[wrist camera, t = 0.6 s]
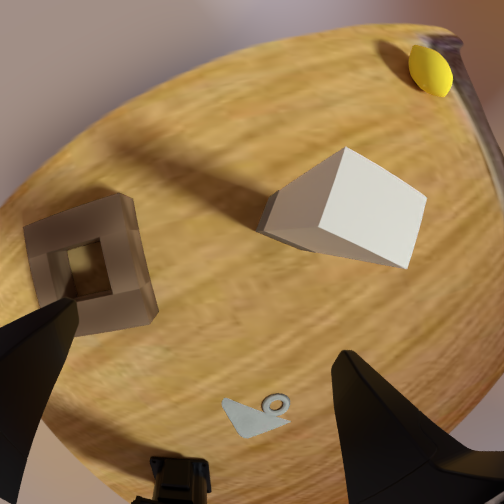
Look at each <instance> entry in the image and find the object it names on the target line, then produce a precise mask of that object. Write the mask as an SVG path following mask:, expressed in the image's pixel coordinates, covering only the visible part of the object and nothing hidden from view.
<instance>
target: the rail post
mask: <svg viewBox="0 0 504 504" xmlns="http://www.w3.org/2000/svg"><path fill="white" fill-rule="evenodd" d="M426 199H427V197H426V196H424V195H423V194H421V193H420V192H418V191H417V190H416V189H414V188H413V187H411V186H410V185H408V184H407V183H405V182H404V181H402V180H401V179H399V178H398V177H396V176H395V175H393V174H391V173H390V172H388V171H387V170H385V169H383V168H382V167H380V166H379V165H377V164H375V163H374V162H372V161H370V160H368V159H367V158H365V157H363V156H362V155H360V154H358V153H356V152H354V151H353V150H351V149H349V148H347V147H344V148H343V149H341V150H340V151H338V152H336V153H335V154H333V155H332V156H330V157H329V158H327V159H326V160H324V161H323V162H321V163H320V164H318V165H316V166H315V167H313V168H312V169H310V170H309V171H307V172H306V173H304V174H303V175H301V176H300V177H298V178H297V179H295V180H294V181H292V182H291V183H289V184H288V185H286V186H285V187H283V188H282V189H281V190H278V191H277V192H275V193H274V194H273V195H271V196H270V197H269V199H268V201H267V204H266V206H265V209H264V211H263V214H262V216H261V219H260V221H259V224H258V227H257V229H256V232H258V233H261V234H263V235H266V236H268V237H270V238H273V239H275V240H278V241H280V242H283V243H285V244H288V245H290V246H293V247H295V248H297V249H300V250H304V251H309V252H315V253H316V252H317V253H322V254H328V255H333V256H339V257H344V258H349V259H355V260H360V261H365V262H371V263H376V264H381V265H387V266H392V267H397V268H402V269H407V267H408V264H409V261H410V258H411V255H412V252H413V249H414V245H415V242H416V238H417V235H418V231H419V227H420V224H421V220H422V216H423V212H424V208H425V203H426Z"/></svg>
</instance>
